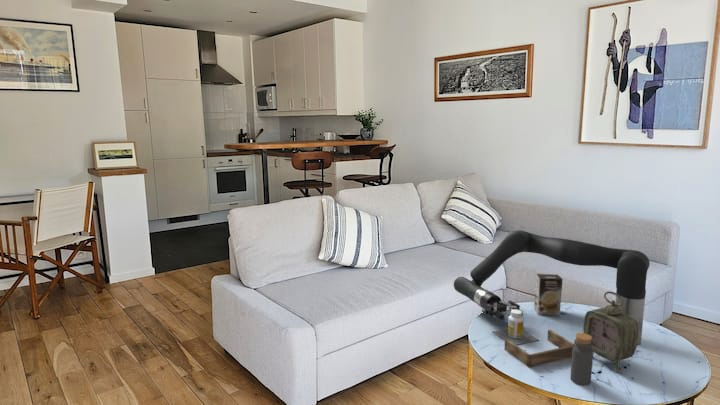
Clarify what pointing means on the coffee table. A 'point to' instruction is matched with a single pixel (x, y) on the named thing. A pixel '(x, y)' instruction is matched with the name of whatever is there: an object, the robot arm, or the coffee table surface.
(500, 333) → the rubber mat
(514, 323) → the supplement bottle
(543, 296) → the coffee box
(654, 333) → the coffee table surface
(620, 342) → the tabletop clock
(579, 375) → the bottle
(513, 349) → the walnut u-shaped bay
